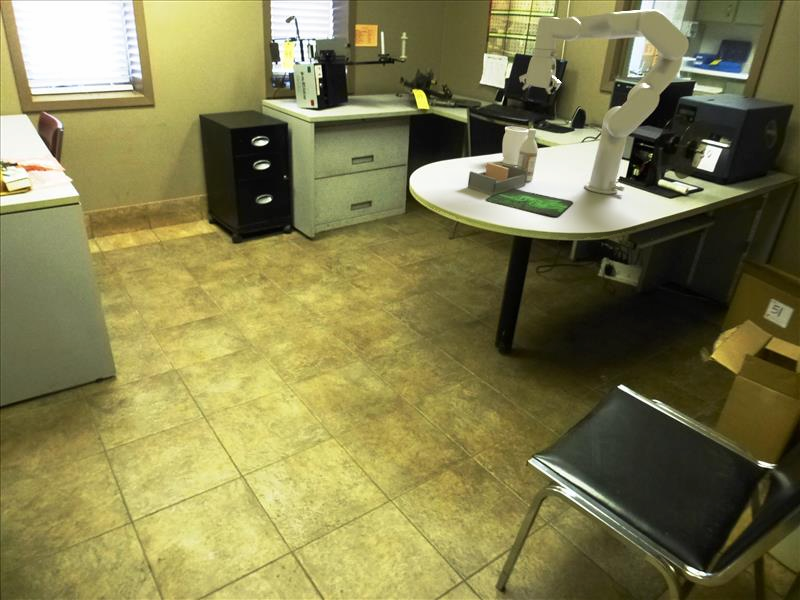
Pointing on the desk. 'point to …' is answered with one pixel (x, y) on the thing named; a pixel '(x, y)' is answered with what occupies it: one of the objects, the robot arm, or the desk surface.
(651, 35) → the robot arm
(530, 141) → the bath foam
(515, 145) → the jar
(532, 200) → the mouse mat
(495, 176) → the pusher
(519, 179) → the grey open box
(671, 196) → the desk surface
